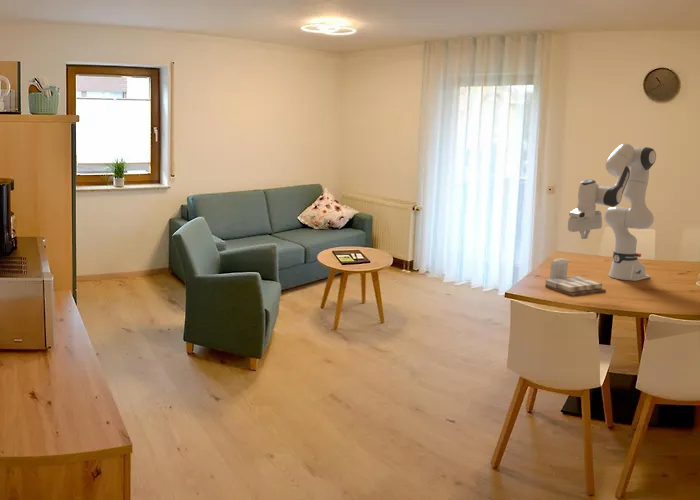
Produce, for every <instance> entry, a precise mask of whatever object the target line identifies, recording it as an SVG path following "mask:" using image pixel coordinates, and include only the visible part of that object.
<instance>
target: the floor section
mask: <svg viewBox="0 0 700 500" xmlns="http://www.w3.org/2000/svg"><path fill="white" fill-rule="evenodd" d="M582 280H590V279H588V278H585V277H582V276H579V275H577V276H569V277H566V278H557V279H550V278H549V279H545V285H544V286H545V288H548V289H551V290H554V291H558V292H560V293H563V294H565V295H569V296H572V297H576V296H583V295H584V296H585V295H591V294H592V293H593V294H599V293H606V291H607V289H605V288H603V287H602V288H599V289H591V290H583V291H575V292H568V291H565V290H561V289H558V288H557V283H566V282H574V281H582ZM593 294H592V295H593Z"/></svg>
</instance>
